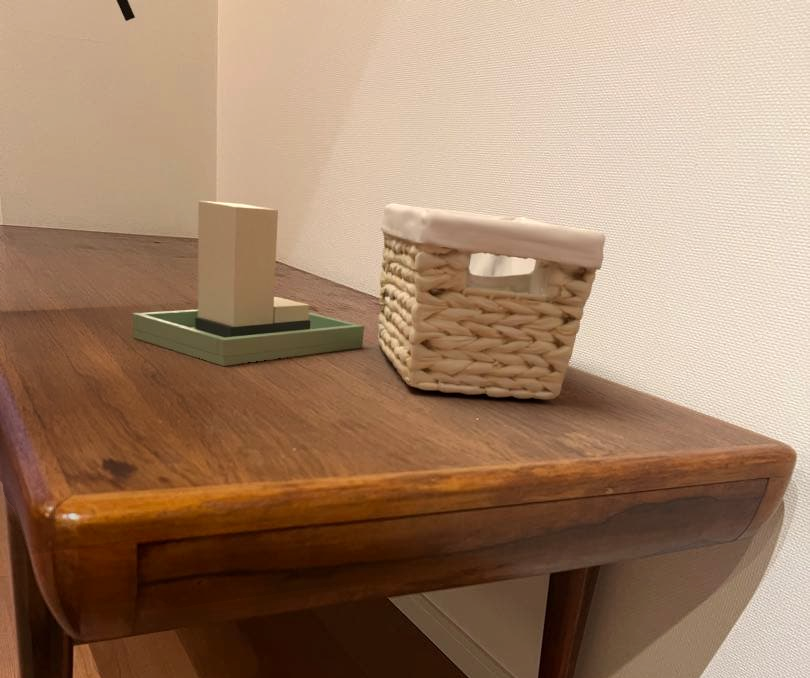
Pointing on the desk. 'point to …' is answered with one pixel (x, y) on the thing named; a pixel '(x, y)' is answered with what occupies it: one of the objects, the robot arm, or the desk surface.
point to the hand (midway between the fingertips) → (39, 39)
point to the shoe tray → (244, 338)
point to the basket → (483, 300)
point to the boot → (241, 273)
